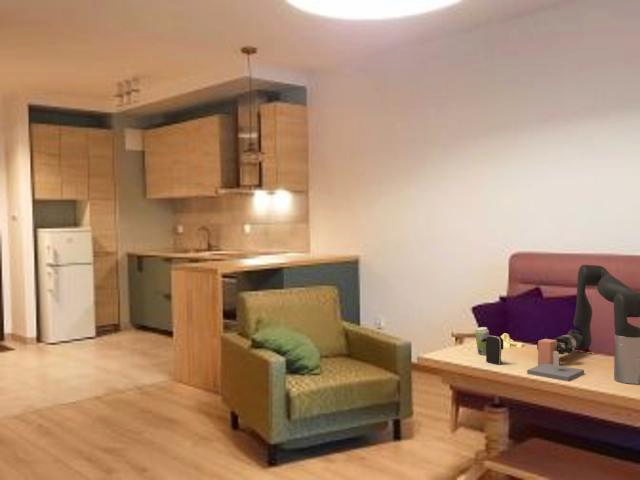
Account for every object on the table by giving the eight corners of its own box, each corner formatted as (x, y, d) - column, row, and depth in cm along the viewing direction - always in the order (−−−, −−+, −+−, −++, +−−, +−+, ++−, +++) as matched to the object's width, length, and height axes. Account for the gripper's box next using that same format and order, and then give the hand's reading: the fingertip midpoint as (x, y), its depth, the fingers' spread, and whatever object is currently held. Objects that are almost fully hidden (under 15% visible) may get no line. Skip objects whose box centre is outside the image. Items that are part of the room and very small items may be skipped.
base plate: (584, 373, 245) (584, 369, 245) (567, 381, 233) (568, 377, 233) (544, 366, 256) (544, 363, 256) (527, 373, 244) (527, 369, 244)
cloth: (506, 340, 314) (506, 328, 314) (533, 347, 297) (534, 334, 297) (471, 344, 304) (471, 331, 304) (498, 351, 287) (498, 338, 287)
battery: (504, 363, 260) (504, 336, 260) (498, 365, 258) (499, 337, 258) (491, 360, 266) (491, 334, 266) (485, 362, 264) (485, 335, 264)
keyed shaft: (557, 368, 246) (557, 351, 246) (558, 371, 242) (558, 353, 242) (552, 368, 246) (553, 351, 246) (554, 370, 243) (554, 353, 242)
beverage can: (494, 354, 278) (494, 328, 277) (480, 356, 275) (480, 329, 274) (485, 352, 283) (486, 325, 283) (472, 353, 281) (472, 326, 280)
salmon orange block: (556, 363, 261) (556, 340, 260) (549, 366, 256) (550, 342, 255) (544, 362, 264) (545, 338, 264) (537, 364, 259) (538, 340, 259)
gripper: (548, 333, 277) (532, 338, 265) (580, 338, 267) (565, 343, 255) (548, 350, 277) (531, 356, 265) (580, 355, 267) (565, 361, 255)
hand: (548, 349), depth 260 cm, fingers open, 8 cm apart
